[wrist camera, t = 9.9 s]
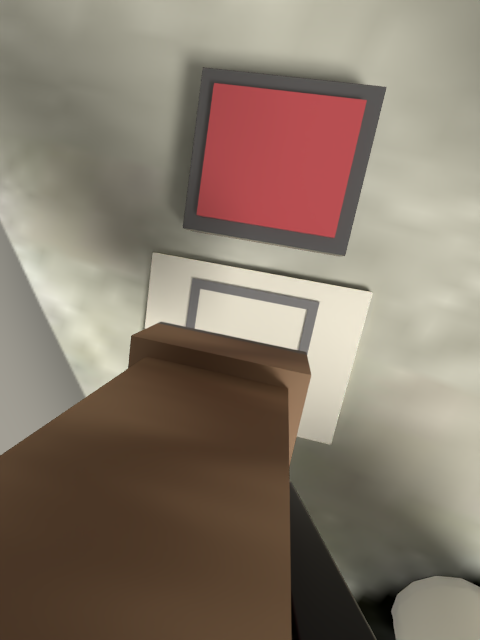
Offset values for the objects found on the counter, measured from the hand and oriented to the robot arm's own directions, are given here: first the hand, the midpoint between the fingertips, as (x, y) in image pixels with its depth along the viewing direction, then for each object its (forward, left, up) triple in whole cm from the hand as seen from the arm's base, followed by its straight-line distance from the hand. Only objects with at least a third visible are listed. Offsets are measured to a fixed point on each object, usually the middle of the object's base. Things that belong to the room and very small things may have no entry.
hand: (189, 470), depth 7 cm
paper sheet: (0, 0, -10) cm, 10 cm away
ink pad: (0, -9, -10) cm, 14 cm away
